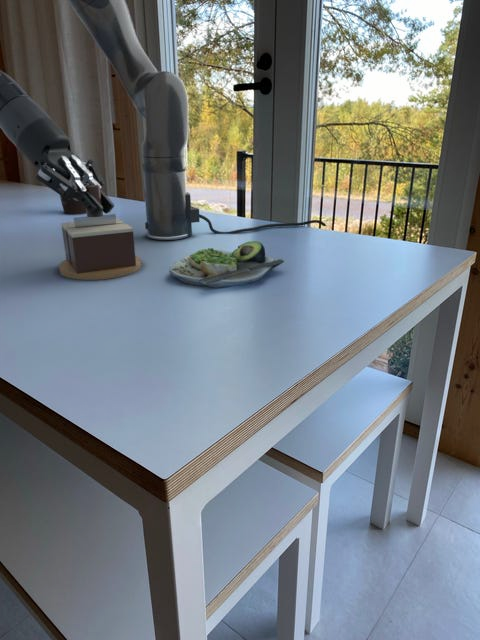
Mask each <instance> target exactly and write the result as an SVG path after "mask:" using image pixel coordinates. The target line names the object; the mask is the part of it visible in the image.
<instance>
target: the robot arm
mask: <svg viewBox="0 0 480 640" xmlns="http://www.w3.org/2000/svg"><path fill="white" fill-rule="evenodd" d="M67 3H68V4H69V5H70V7H71V8H72V10H73V12H75V14H76V16H77V17H78V19H79V20H80V21H81V22H82V24H83V26H84V27H85V28H86V30H87V31H88V33H89V34H90V36H91V37H92V39H93V40H94V41H95V43H96V45H97V46H98V48H99V49H100V50H101V51H102V53H103V54H104V56H105V57H106V59H107V60H108V61H109V63H110V64H111V66H112V68H113V70H114V71H115V73H116V75H117V77H118V78H119V80H120V82H121V84H122V85H123V87H124V89H125V91H126V93H127V95H128V97H129V99H130V100H131V103H132V104H133V106H134V108H135V109H136V111H137V112H138V114H140V115H141V116H142V117H143V118H144V119H145V136H144V139H143V141H142V142H141V160H142V161H141V162H142V173H143V190H144V199H145V200H144V201H145V214H146V215H145V216H146V222H144V225H145V230H146V231H147V232H146V235H147V238H149V239H151V240H155V241H156V240H157V241H175V240H182V239H185V238H189V237H192V236H193V231H192V230H193V227H192V224H194V223H200V219H202V220H204V221H205V222H206V223H207V224H208V226H209V230H210V231H211V232H212V233H214V234H216V235H217V234H218V235H229V234H230V235H232V234H233V235H234V234H240V233H247V232H253V231H257V230H261V229H265V228H266V229H267V228H274V227H296V226H297V227H298V226H299V227H301V226H306V225H310V224H320V225H321V226H322V227H327V224H326V223H325V222H324V221H322V220H319V219H312V220H311V219H310V220H306V221H302V222H280V223H279V222H277V223H269V224H268V223H267V224H262V225H258V226H253V227H246V228H241V229H240V228H239V229H236V230H230V231H219V230H216V229H215V228H214V227H213V224H212V221H211V220H210V219H209V218H208V217H206V216H204V215H203V214H200V209H199V208H198V207H195V206H192V199H191V197H192V196H191V193H190V192H188V184H187V183H188V181H187V161H186V149H187V144H188V141H189V96H188V92H187V88H186V85H185V83H184V82H183V80H182V79H181V78H180V76H179V75H177V74H175V73H174V72H172V71H167V70H161V71H158V69H157V68H156V66H155V65H154V63H153V62H152V60H151V59H150V58H149V56H148V55H147V53H146V51H145V50H144V48H143V46H142V44H141V42H140V40H139V37H138V35H137V33H136V29H135V27H134V22H133V20H132V15H131V13H130V9H129V6H128V3H127V0H67ZM0 129H1V130H2V132H3V134H4V136H6V137H7V138H8V140H9V141H10V142H11V143H12V144H13V145H14V146H15V147H16V148H17V149H18V151H19V152H20V153H21V154H22V155H23V156H24V157H25V158H26V160H28V162H29V163H30V164H31V165H32V166H33V167H34V168H36V169H37V170H38V172H37V173H36V174H35V178H36V179H37V180H38V181H39V182H40V183H42V184H43V185H44V186H46V187H48V188H49V189H51V190H52V191H54V192H55V193H57V194H58V195H59V196H60V195H61V196H62V197H64V198H65V199H67V200H69V199H70V198H73V199H74V200H76V201H80V203H81V204H82V205H83V206H84V207H85V208H86V209H87V210H88V211H89V212H90V213H91V214H92V215H93V216H94V217H96V216H99V214H100V213H101V212H103V213H104V214H110V213H111V211H112V210H113V209H114V207H115V204H114V203H113V201H112V199H110V197H109V196H107V194H106V193H105V192H104V191H103V190H102V188H103V186H104V185H105V184H106V183H105V180H104V178H103V176H102V174H101V172H100V170H99V168H98V166H97V164H96V162H95V161H94V160H93V159H91V158H89V159H88V160H87V161H85V160H81V157H80V156H78V155H77V154H75V152H73V151H72V150H71V140H70V137H68V135H67V134H66V133H65V132H64V131H63V130H62V129H61V128H60V127H59V125H58V124H57V123H56V122H55V120H53V119H52V118H51V116H50V115H49V114H48V113H47V112H46V111H45V110H44V109H43V107H41V106H40V105H39V104H38V103H37V102H35V100H34V99H32V98H31V97H30V95H28V93H27V92H26V91H25V90H24V89H23V88H22V87H21V85H19V83H18V82H16V81H15V80H14V78H13V77H11V76H10V75H8V74H7V73H5V72H4V71H3V70H1V69H0ZM83 176H84V178H83V179H82V181H80V180H81V178H82V177H83ZM87 183H88V185H99V186H100V193H101V203H102V205H101V204H100V203H99V202H98V201H97V200H96V199H95V198H94V196H93V195H92V194H91V193H90V192H89V191H88V192H86V191H87V189H86V188H85V185H87ZM59 184H60V186H61V187H62V188H63V189H62V188H60V187H59Z"/></svg>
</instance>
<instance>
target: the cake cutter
mask: <svg viewBox="0 0 480 640" xmlns="http://www.w3.org/2000/svg"><path fill="white" fill-rule="evenodd" d="M85 188H86V189H87V191H86V192H88V191H89V192H90V193H91V194H92V195H93V196H94V198H95V199H96V200H97V201H98V202H99V203H100V204H101V205H102V203H101V193H100V186H99V185H89V184H88V185H85ZM86 211H87V213H86V216H77V217H73V222H75V228H82V227H93V226H104V225H114V224H116V218H117V216H116V213H113V214H112V213H111V214H110V213H109V214H103V213H104V212H103V211H102V212H101V213H100V214H99V216H96V217H94V216H93V215H92V214H91V213H90V212H89V211H88V210H87V209H86Z"/></svg>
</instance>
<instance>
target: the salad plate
mask: <svg viewBox="0 0 480 640" xmlns="http://www.w3.org/2000/svg"><path fill="white" fill-rule="evenodd" d="M283 263H285V260H284V259H277V260H275V259H274V258H273V257H271V256H270V255H269V256H268V255H266V249H265V246H264V244H263V243H262V242H261V241H257V240H253V241H247V242H244V243H242V244H240V245H237V248H236V249H234V250H233V251H229V250H221V249H215V248H213V247H211V248H210V247H209V248H207V249H206V248H203V249H200V250H197V251H195V252H191V253H190V254H188V255H186V256H185V257H182V258H181V259H179V260H178V261H176V262H174V263H172V264H171V265H169V267H168V269H169V273H170V274H171V275H172V276H174V277H175V278H177V279H178V280H179V281H181V282H182V283H184V284H187V285H191V286H199V287H207V288H208V287H209V288H225V287H226V288H227V287H236V286H243V285H249V284H253V283H256V282H257V281H259V280H260V279H262V278H263V277H264V276H265V275H267V274H268V273H269V272H270V271H272V270H273V269H275V268H276V267H278V266H280V265H281V264H283Z"/></svg>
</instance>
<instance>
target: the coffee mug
mask: <svg viewBox="0 0 480 640" xmlns="http://www.w3.org/2000/svg"><path fill="white" fill-rule="evenodd" d="M83 178H84V176H83V177H82V178H81V180H80V181H82V179H83ZM87 185H89V184H88V183H87ZM59 187H60V188H62V187H61V186H60V184H59ZM62 189H63V188H62ZM59 198H60V201H61V206H62V209H63V214H64V215H72V216H73V215H74V216H75V215H83V214H87V211H86V208H85V207H84V206H83V205H82V204H81V203H80V201H76V200H74V199H73V198H70V199H69V200H67V199H65V198H64V197H62V196H61V195H59Z"/></svg>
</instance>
